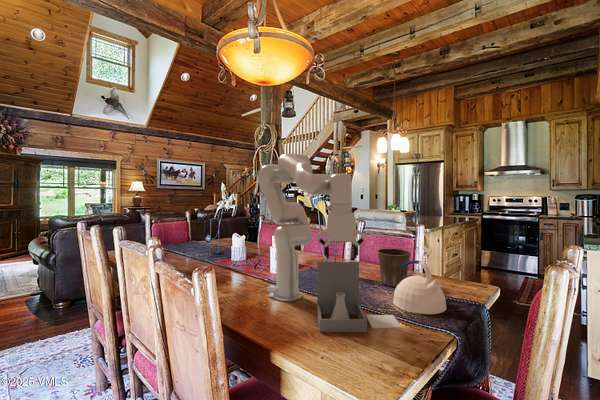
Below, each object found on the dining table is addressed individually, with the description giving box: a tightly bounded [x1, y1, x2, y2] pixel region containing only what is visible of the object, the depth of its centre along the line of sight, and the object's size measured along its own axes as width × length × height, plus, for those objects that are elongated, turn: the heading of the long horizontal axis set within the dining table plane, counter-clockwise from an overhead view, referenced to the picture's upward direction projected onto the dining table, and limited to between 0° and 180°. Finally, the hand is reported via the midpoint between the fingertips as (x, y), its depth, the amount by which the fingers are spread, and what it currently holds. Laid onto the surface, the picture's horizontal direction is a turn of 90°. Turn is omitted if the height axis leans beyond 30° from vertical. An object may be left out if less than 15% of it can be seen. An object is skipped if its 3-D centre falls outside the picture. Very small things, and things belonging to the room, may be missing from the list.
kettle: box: [392, 260, 447, 315], centre depth 126 cm, size 20×21×18 cm
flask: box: [329, 293, 351, 319], centre depth 109 cm, size 7×7×10 cm
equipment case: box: [316, 261, 368, 333], centre depth 110 cm, size 16×16×20 cm
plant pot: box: [376, 248, 412, 288], centre depth 155 cm, size 16×16×16 cm
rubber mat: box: [365, 314, 403, 330], centre depth 109 cm, size 10×10×1 cm
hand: (341, 257), depth 109 cm, fingers open, 9 cm apart
